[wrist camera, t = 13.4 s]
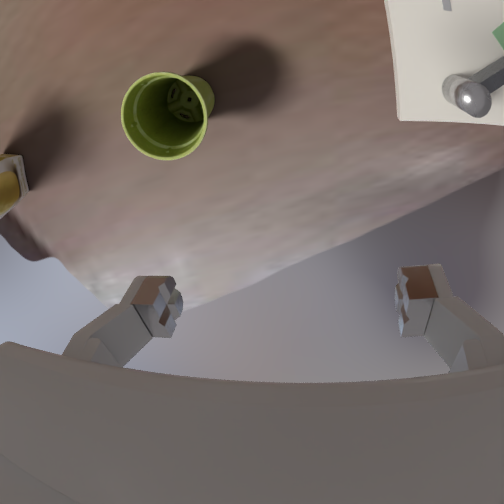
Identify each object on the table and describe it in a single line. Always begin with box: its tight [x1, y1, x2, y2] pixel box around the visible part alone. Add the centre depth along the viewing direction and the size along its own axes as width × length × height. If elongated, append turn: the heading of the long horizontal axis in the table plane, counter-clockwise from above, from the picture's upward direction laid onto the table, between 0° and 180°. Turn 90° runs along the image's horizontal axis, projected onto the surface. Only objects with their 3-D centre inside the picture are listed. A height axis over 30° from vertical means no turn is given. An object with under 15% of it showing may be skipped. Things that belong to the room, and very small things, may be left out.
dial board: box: [384, 0, 504, 126], centre depth 24 cm, size 20×18×2 cm
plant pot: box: [121, 72, 215, 160], centre depth 32 cm, size 9×9×9 cm
